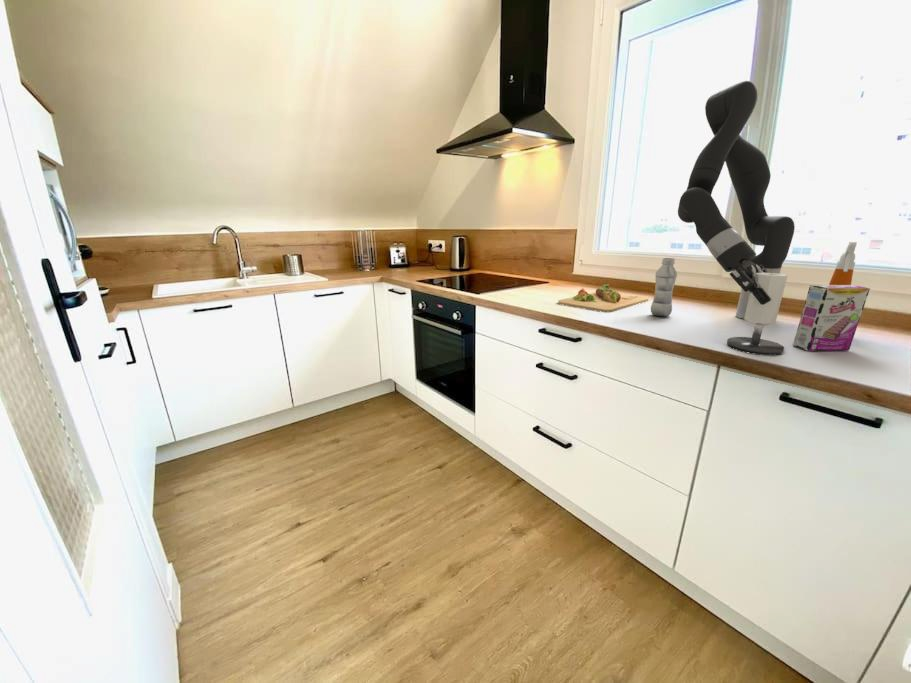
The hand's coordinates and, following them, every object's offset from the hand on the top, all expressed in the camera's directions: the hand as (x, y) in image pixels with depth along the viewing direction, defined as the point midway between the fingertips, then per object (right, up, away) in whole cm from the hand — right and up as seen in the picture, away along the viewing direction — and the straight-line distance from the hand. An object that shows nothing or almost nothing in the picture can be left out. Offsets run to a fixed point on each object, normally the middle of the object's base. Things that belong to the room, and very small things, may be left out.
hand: (772, 301), depth 96 cm
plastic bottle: (-7, -1, +40) cm, 40 cm away
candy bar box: (+16, -12, +4) cm, 20 cm away
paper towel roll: (-1, -5, +3) cm, 6 cm away
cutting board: (-17, +6, +65) cm, 67 cm away
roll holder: (-1, -12, +5) cm, 13 cm away
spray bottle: (+29, -8, +16) cm, 34 cm away
